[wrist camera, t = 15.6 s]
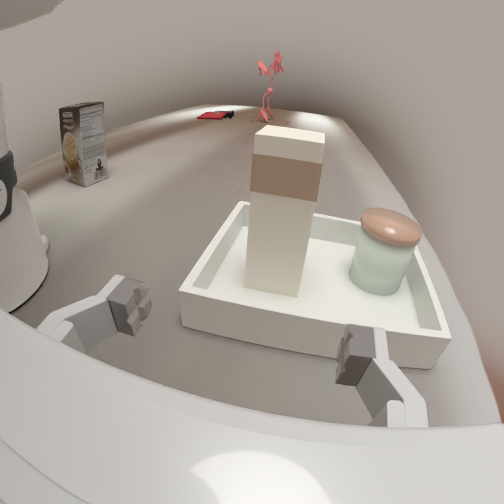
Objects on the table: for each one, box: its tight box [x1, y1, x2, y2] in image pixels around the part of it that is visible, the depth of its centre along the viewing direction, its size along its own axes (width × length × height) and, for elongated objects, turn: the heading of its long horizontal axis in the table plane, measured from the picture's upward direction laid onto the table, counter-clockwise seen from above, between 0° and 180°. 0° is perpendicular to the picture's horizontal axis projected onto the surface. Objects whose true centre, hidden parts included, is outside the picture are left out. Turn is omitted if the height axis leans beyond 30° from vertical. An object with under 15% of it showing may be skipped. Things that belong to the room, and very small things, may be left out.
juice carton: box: [244, 125, 325, 298], centre depth 26 cm, size 5×5×14 cm
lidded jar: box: [349, 208, 422, 296], centre depth 29 cm, size 6×6×7 cm
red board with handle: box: [197, 111, 234, 120], centre depth 137 cm, size 30×3×15 cm
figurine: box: [252, 51, 290, 124], centre depth 120 cm, size 15×26×35 cm, turn 161°
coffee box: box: [59, 102, 108, 187], centre depth 50 cm, size 9×6×16 cm
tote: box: [178, 201, 452, 369], centre depth 29 cm, size 22×18×4 cm
